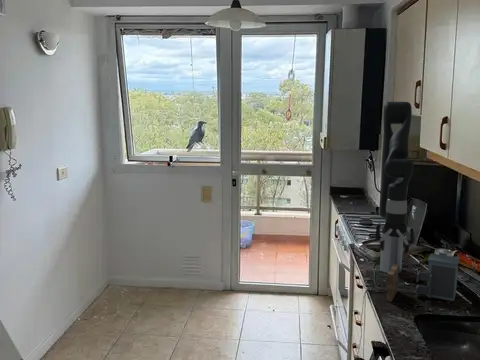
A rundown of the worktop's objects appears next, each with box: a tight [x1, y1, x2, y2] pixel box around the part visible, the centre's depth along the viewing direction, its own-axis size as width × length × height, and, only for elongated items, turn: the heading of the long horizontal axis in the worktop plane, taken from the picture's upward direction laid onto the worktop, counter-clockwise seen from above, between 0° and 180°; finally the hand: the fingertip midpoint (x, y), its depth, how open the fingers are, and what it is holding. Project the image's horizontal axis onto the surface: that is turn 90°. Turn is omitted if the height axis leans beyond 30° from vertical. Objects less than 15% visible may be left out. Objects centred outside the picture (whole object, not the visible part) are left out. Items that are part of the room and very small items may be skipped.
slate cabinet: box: [415, 252, 460, 302], centre depth 190 cm, size 12×14×15 cm
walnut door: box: [385, 264, 399, 303], centre depth 189 cm, size 12×3×11 cm, turn 152°
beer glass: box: [434, 248, 453, 256], centre depth 200 cm, size 7×7×15 cm
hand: (394, 251), depth 188 cm, fingers open, 8 cm apart
